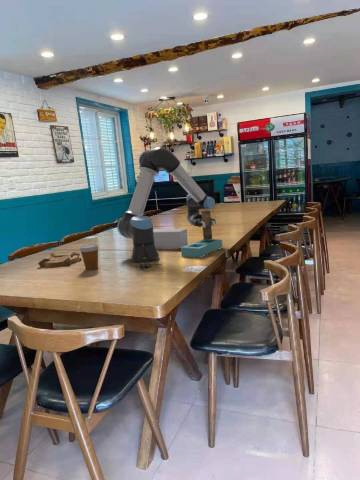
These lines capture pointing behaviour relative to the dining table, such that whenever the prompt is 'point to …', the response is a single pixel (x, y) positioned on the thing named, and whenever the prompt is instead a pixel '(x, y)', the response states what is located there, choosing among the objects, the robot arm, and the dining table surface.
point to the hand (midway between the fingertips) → (209, 224)
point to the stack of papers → (170, 238)
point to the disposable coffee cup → (90, 256)
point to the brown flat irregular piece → (59, 260)
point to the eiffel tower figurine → (145, 262)
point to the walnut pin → (207, 225)
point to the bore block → (201, 247)
